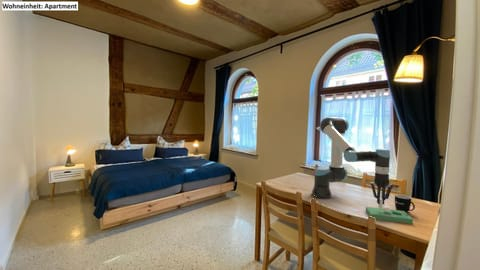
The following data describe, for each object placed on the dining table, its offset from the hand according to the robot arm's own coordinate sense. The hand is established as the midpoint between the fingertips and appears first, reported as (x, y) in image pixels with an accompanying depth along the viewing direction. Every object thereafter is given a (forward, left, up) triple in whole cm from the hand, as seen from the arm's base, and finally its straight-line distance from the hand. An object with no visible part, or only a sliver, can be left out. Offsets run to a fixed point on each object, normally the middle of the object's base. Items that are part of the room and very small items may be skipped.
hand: (380, 208), depth 137 cm
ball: (+3, 0, 0) cm, 4 cm away
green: (+4, 0, -5) cm, 7 cm away
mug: (+18, +13, -5) cm, 23 cm away
